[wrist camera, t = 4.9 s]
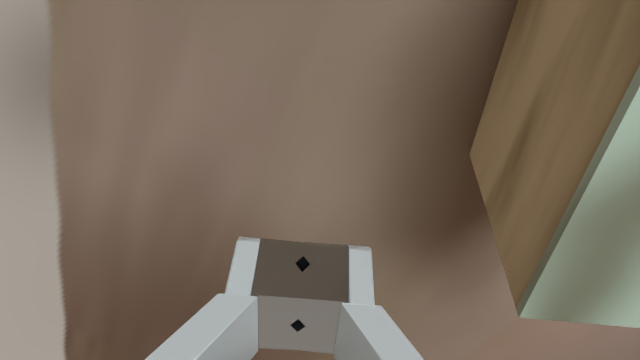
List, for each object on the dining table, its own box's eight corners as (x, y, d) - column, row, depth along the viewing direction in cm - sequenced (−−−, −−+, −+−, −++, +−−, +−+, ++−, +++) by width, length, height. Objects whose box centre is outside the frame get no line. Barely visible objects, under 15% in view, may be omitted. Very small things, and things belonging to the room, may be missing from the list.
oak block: (690, -101, 18) (935, -7, 11) (566, 162, 26) (657, 329, 18) (553, -113, 18) (699, -28, 11) (469, 154, 26) (518, 317, 18)
